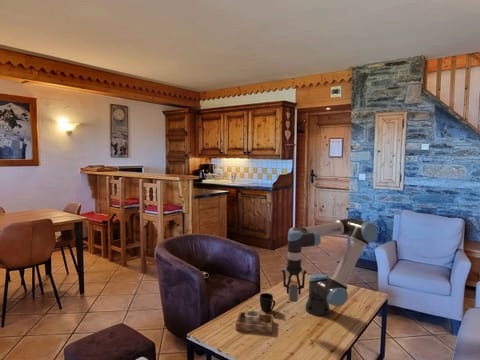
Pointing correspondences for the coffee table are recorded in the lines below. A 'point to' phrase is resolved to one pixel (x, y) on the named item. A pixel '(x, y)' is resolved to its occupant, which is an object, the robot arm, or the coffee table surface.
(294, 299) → the connector
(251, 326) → the box
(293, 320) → the coffee table surface
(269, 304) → the mug
